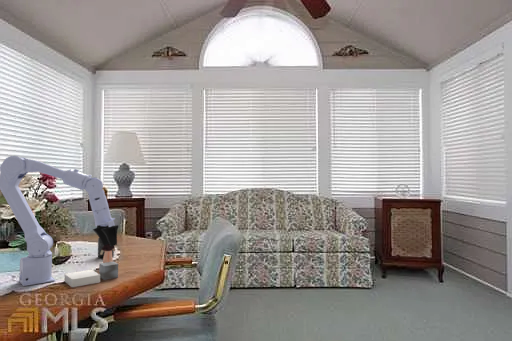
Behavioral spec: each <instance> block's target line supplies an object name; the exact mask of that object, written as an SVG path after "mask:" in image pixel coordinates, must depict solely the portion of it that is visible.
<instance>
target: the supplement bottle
mask: <svg viewBox="0 0 512 341" xmlns="http://www.w3.org/2000/svg"><path fill="white" fill-rule="evenodd" d="M103 246H104V245H103V244H102V242H101V240H100V238H99V237H98V238H97V258H98V259H103V257H104V253H105V251H104V252H103V254H102V255H100V253H101V249H102V248H103ZM114 252H115V251H113V249H112V258H114V256H115V255H114V254H115V253H114Z"/></svg>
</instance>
